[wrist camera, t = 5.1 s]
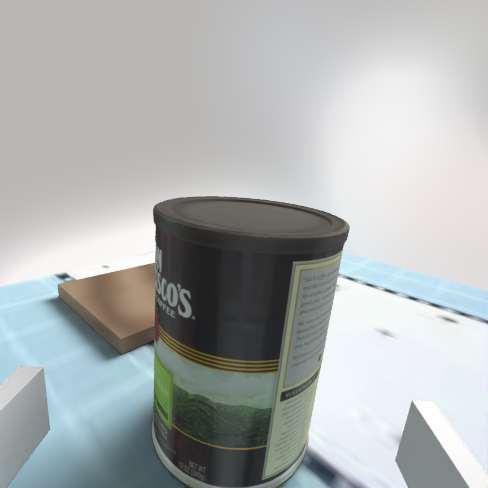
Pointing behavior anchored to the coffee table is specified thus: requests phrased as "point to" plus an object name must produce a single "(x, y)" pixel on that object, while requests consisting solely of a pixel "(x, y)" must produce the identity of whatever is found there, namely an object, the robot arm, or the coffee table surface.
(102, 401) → the coffee table surface
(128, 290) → the walnut board
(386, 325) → the coffee table surface
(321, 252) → the coffee can
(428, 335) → the coffee table surface
